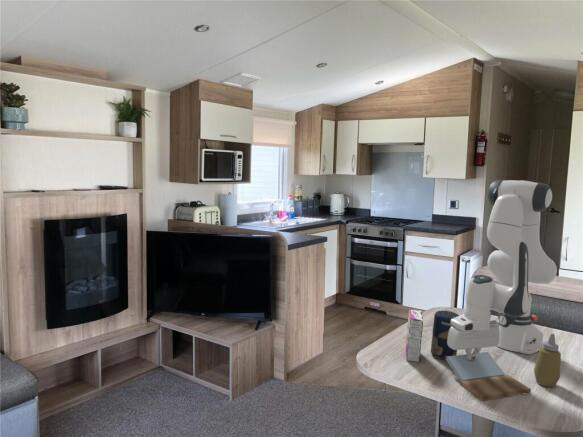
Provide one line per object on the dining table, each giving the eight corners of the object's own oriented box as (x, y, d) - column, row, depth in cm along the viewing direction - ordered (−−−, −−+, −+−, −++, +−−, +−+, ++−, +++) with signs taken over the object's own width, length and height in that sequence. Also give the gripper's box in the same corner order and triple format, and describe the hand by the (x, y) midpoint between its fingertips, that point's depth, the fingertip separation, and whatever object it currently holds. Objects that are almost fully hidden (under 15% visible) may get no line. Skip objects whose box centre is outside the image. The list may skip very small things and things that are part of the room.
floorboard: (507, 378, 166) (507, 374, 165) (530, 393, 156) (530, 388, 156) (460, 385, 159) (461, 381, 158) (481, 400, 149) (482, 396, 149)
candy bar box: (404, 349, 186) (408, 309, 183) (417, 350, 185) (422, 310, 183) (405, 361, 175) (409, 318, 173) (419, 363, 174) (424, 320, 172)
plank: (486, 354, 174) (487, 351, 173) (503, 377, 166) (505, 374, 165) (445, 359, 168) (447, 356, 167) (461, 382, 160) (463, 380, 159)
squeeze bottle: (527, 377, 167) (534, 329, 165) (549, 378, 168) (556, 329, 165) (541, 389, 159) (548, 338, 157) (563, 389, 160) (571, 339, 158)
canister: (456, 353, 184) (461, 309, 182) (456, 363, 175) (461, 317, 173) (430, 349, 187) (435, 305, 185) (429, 358, 178) (434, 312, 176)
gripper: (493, 317, 172) (488, 353, 174) (446, 320, 165) (442, 357, 167) (506, 323, 166) (501, 360, 168) (458, 326, 159) (454, 365, 161)
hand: (471, 359), depth 168 cm, fingers closed, pressing on plank
